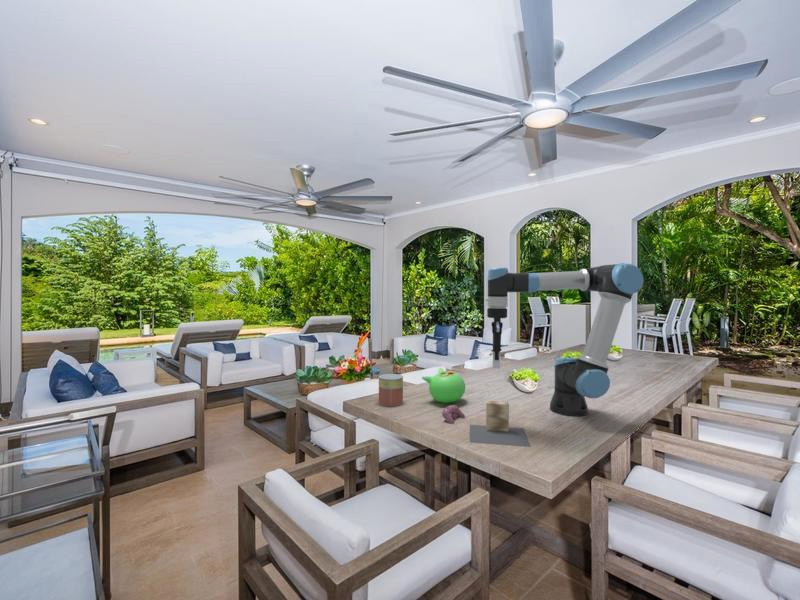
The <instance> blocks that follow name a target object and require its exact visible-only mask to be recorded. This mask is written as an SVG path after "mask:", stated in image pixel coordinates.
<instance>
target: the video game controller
mask: <svg viewBox="0 0 800 600" xmlns="http://www.w3.org/2000/svg"><path fill="white" fill-rule="evenodd" d="M441 416H442V417H443V418H444V419H445V421H446V422H447V423H448V424H451V425H454V424H455V420H456V419H457V418H460V419H465V418H466V415H465V414H464V412H463V411H462V410H461V409H460V407H458V405H456V404H453V405H452V404H451V405H448V406H446V407H444V408H443V410H442V412H441Z"/></svg>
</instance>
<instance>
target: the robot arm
mask: <svg viewBox="0 0 800 600" xmlns="http://www.w3.org/2000/svg"><path fill="white" fill-rule="evenodd" d="M643 286H644V275H643V273H642V271H641V269H640V268H639V267H638V266H636V265H634V264H632V263H625V262H623V263H621V262H620V263H614V264H613V263H612V264H604V265H598V266H594V267H589V268H588V267H587V268H580V269H579V270H574V271H570V270H569V271H549V272H548V271H547V272H516V273H515V272H509V269H508V267H490V268H489V269H488V274H487V298H486V299H485V301H486V302H487V307H488V308H487V309H486V310H487V313H486V317H487V318H490V319H493V321H492V322H491V333H492V349H491V352H492V369H500V368H501V352H502V348H501V345H502V344H501V343H502V331H503V325H504V324H503V322H501V321H502V319H506V318H508V309H507V307H508V301H509V299H508V297H509V296H508V293H528V294H529V293H536V292H537V291H540V292H541V291H558V290H580V291H582V292H598V295H599V297H600V301H599V304H598V307H597V310H596V313H595V316H594V319H593V321H592V325H591V328H590V331H589V334H588V338H587V340H586V344H585V347H584V350H583V353H582V355H580V356H578V357H557V358H556V359H555V362H554V389H553V390H554V391H553V394H552V397H551V399H550V402H549V410H550V411H551V412H554V413H556V414H559V415H563V416H569V417H570V416H571V417H582V416H587V414H588V413H589V407H588V404H587V401H586V398H589V399H598V398H600V397H603V396H604V395H606V394H607V392H608V391H609V389H610V385H611V379H610V378H609V377H610V376H609V375H608V371H609V365H608V364H607V360H608V357H609V355H610V352H611V347H612V345H613V342H614V338H615V335H616V333H617V330H618V326H619V324H620V320H621V318H622V314H623V312H624V309H625V306H626V304H627V303H630V302H631V300H632V299H633V295H634V294H637V292H639V291H640V290H641V289H642V288H643Z"/></svg>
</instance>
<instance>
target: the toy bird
mask: <svg viewBox="0 0 800 600" xmlns="http://www.w3.org/2000/svg"><path fill="white" fill-rule="evenodd" d="M421 379H422V380H424V382H426V383H429V384H428V390H429V394H430V395H431V397H432V398H433V399H434V400H435V401H437V402H439V403H445V404H450V403H454V402H457V401H459V400H460V399H461V398H463V396H464V394H465V391H466V382H465V380H464V379H463V377H462V376H461V375H459V374H458V373H456V372H453V371H448V370H447V371H446V370H445V371H444V369H443V368H442V367H439V368H438V373H437V374H435V375H434V376H429V375H427V376H425V375H424V376H421Z"/></svg>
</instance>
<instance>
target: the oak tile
mask: <svg viewBox="0 0 800 600" xmlns="http://www.w3.org/2000/svg"><path fill="white" fill-rule="evenodd" d="M485 410H486V411H485V426H486V430H493V431H508V432H509V426H510V423H509V422H510V416H509V415H510V404H509V402H508V401H494V400H486V402H485Z"/></svg>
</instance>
